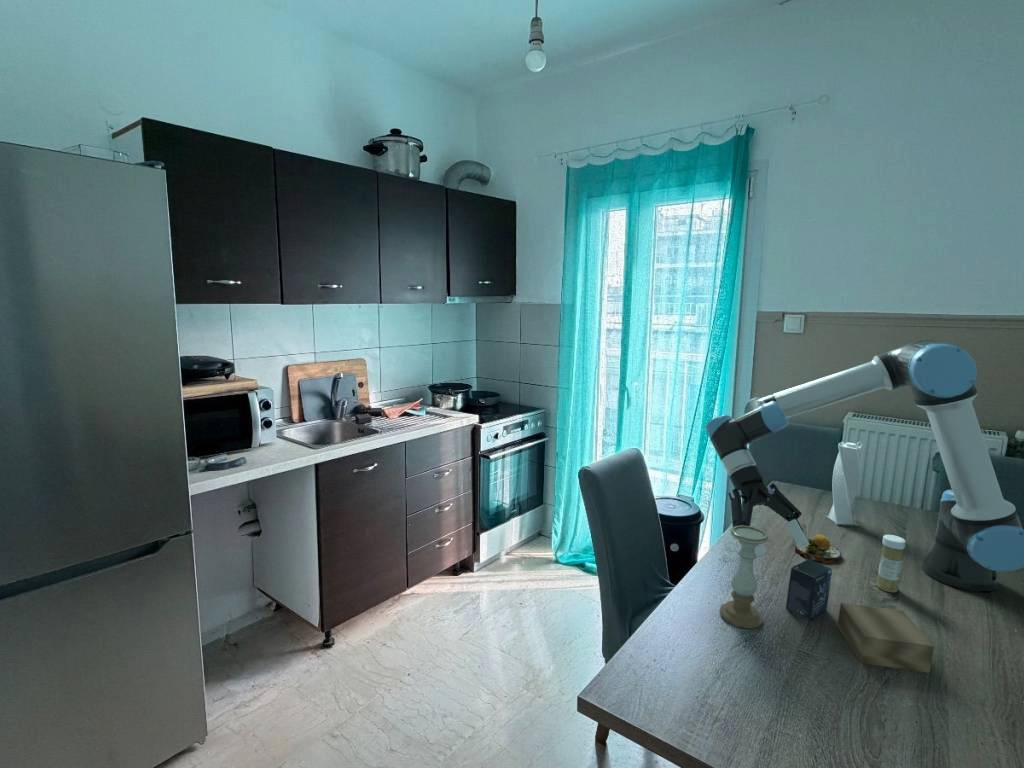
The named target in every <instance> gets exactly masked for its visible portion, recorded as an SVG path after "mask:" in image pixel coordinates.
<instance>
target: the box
mask: <svg viewBox="0 0 1024 768" xmlns="http://www.w3.org/2000/svg"><path fill="white" fill-rule="evenodd" d="M832 574H833V568H831V567H830V566H826V565H824V564H823V563H819V562H818V561H816V560H813V561H812V560H811V559H806V560H804V561H802V562H800V563H798V564H795V565H793V566H791V567H790V576H789V582H788V590H787V596H786V604H785V605H786V606H785V609H786V610H789V611H790V612H792V613H794V614H796V615H797V616H800V617H801V618H803V619H805V620H807V621H810V620H811V619H812V620H813V619H814V618H815V617H817V616H819V615H821V614H823V613H824V612H826V611H827V610H828V604H829V596H830V590H831V589H830V588H831V581H832Z"/></svg>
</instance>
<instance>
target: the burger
mask: <svg viewBox="0 0 1024 768" xmlns="http://www.w3.org/2000/svg"><path fill="white" fill-rule="evenodd" d="M827 535H828V534H826V535H823V534H815V535H814V537H812V538H811V539H809V538H808V539H807V538H806V539H807V541H808V542H809V545H807V546H805V547H803V548H801V549H800V548H799V546H798V545H797V543H796V541H794V542H793V546H794V548H795V549H794V550H795V551H794V552H795V553H796V555H800V557H801V556H802V554H803V556H804V557H805V558H806V560H808V559H810V560H812V561H815V562H819V561H820V562H821V564H828V563H830V564H833V563H839V562H841V559H842V557H841V556H842V552H841V551H840V549H838V547H836V546H834V545H832V544H831V541H830V540H829V539H828V537H827Z"/></svg>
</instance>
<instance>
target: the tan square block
mask: <svg viewBox="0 0 1024 768" xmlns="http://www.w3.org/2000/svg"><path fill="white" fill-rule="evenodd" d="M837 629H838V630H839V632H840V633H841V634H842V636H843V638H844V639H845V641H846V642H847V644H848V646H849V647H850V649H851V650H852V652H853V653H854V654H855V656H856V658H857V659H858V661H859V662H860V663H861V664H866V665H872V666H880V667H881V666H882V667H886V668H887V667H888V668H893V669H901V670H907V671H915V672H921V673H926V674H927V673H929V674H930V671H931V668H932V660H933V654H934V647H935V646H934V645H933V643H932V642H931V641H930V640H929V638H927V636H926V635H925V634H924V633H923V632H922V630H920V629H919V627H918V626H917V625H916V624H915V622H913V621H912V619H910V617H909V616H908V615H907V614H906V613H905V611H904V610H900V609H892V608H885V607H876V606H870V605H869V606H867V605H862V604H861V605H860V604H852V603H845V602H844V603H843V602H840V606H839V614H838V620H837Z"/></svg>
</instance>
